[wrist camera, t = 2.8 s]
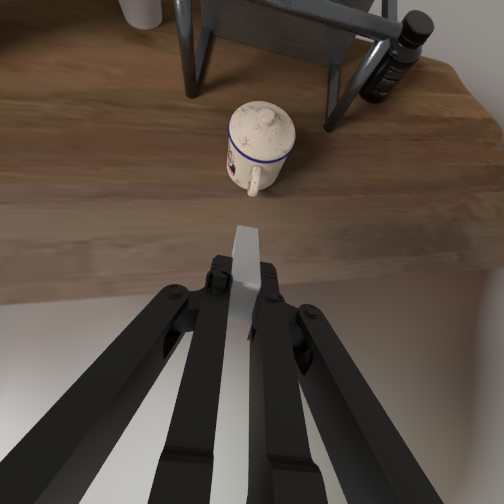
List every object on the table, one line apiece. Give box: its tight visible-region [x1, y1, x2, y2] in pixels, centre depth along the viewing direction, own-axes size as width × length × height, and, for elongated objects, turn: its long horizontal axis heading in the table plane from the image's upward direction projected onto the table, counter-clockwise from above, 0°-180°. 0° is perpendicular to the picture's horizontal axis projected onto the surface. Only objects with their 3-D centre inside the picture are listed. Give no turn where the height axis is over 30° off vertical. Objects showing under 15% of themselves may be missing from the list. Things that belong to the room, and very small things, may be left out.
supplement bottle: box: [359, 10, 434, 103], centre depth 43 cm, size 7×7×12 cm
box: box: [174, 0, 403, 132], centre depth 37 cm, size 27×16×17 cm, turn 81°
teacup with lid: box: [227, 101, 295, 197], centre depth 34 cm, size 12×9×12 cm
